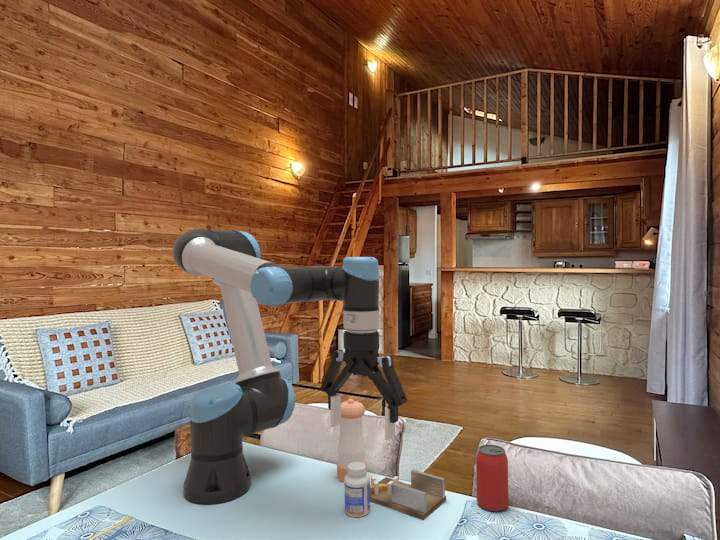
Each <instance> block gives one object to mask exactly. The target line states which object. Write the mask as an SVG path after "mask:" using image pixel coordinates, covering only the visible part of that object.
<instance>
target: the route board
mask: <svg viewBox="0 0 720 540" xmlns="http://www.w3.org/2000/svg"><path fill="white" fill-rule="evenodd" d="M392 479H393V478H389V477H386V476H385V477H383V478H382V479H380V480H379V481H377V482H378V484H387V483H389V482H390V481H392ZM399 484H401V485H404V486H407V487H410V488H411V483H406V482H403V481H400V480H399ZM426 494H427V493H426ZM446 501H447V495H445V497H444V498H440V497H437V496H433V495H430V494H427V512H426V513H425V514H423V513H420V512H417V511H414V510H411V509H408V508H405V507H402V506H400V505H397V504H394V503H392V494H391V495H388V492H387V491H386V490H385V491H379V494H378V495H375V494H374V492H370V503H371V502H372V503H374V504H377V505H379V504H380V506H382V505H383V507H385V506H386V507H385V508H388V507H389V509H391V508H392V509H391V510H394V511H396V510H397V512H400V513H402V514H405V515H409V516H411V517H414V518H417V519H420V520H422V521H424V520H425V519H426V518H427V517H429V516H430V515H431V514H432V513H433V512H434V511H435V510H437V509H438V508H439V507H440V506H441V505H442V504H444V503H445V502H446Z"/></svg>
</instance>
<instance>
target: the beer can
mask: <svg viewBox="0 0 720 540" xmlns="http://www.w3.org/2000/svg"><path fill="white" fill-rule="evenodd" d="M476 454H477V455H476V457H475V466H476V467H475V471H476V472H475V473H476V475H475V476H476V479H475V480H476V502H477V505H478V506H480V507H481V508H482V509H484V510H487V511H488V512H489V511H491V512H501V511H503V510H504V511H505V510H506V509H508V507H509V504H510V503H509V502H510V501H509V461H508V459H509V458H508V456H507V454H506V449H505V448H504V447H502V446H499V445H497V444H482V445H480V446H478V451H477V453H476Z"/></svg>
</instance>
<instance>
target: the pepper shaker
mask: <svg viewBox="0 0 720 540" xmlns="http://www.w3.org/2000/svg"><path fill="white" fill-rule="evenodd" d="M365 412H366V408H365V406H364V404H363V403H361V402H359V401H356V400H354V399H353V398H349V399H347V400H346V401H343V402H341V424H340V425H339V438H338V446H337V447H338V448H337V454H338V456H337V459H338V461H337V463H336V475H337V476H336V478H337V480H338V481H339V482H341V483H344V478H345V476H346V475H347V474H348V472H347V466H348V464H350V463H353V462H361V463H364V464H365V465H366V474H367V475H368V470H367V468H368V467H367V461H366V447H365V446H366V445H365V440H364V434H363V416H364V415H365Z"/></svg>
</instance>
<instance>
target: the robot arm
mask: <svg viewBox="0 0 720 540" xmlns="http://www.w3.org/2000/svg"><path fill="white" fill-rule="evenodd" d="M261 257H262V256H261V249H260V246H259V243H258V241H257V240H256V238H255V237H254V236H253V235H252V234H250V233H249V232H246V231H240V230H237V229H229V230H228V229H225V230H224V229H211V228H210V229H206V228H194V229H190V230H188V231H185V232H184V233H182V234H180V236H178V238H177V239H176V240H175V242H174V244H173V248H172V258H173V261H174V263H175V264H176V266H177V267H178V268H179V269H180V270H182V271H184V272H186V273H187V274H190V275H193V276H197V277H198V276H199V277H200V276H204V275H205V276H207V277H210V278H211V279H212V283H213V284H215V285H216V286H218V287H219V288H220V293H221V296H222V301H223V306H224V311H225V315H226V319H227V324H228V328H229V332H230V338H231V343H232V347H233V353H234V357H235V361H236V366H237V370H238V376H237V378H236V380H235V381H234V383H223V384H216V385H211V386H207V387H206V388H203V389H201V390H200V391H198V392H197V393H195V394H194V395H193V397H192V398H191V400H190V406H189V407H190V408H189V415H188V417H189V422H190V425H189V427H190V430H189V431H190V462H189V465H188V468H187V473H186V476H185V480H184V483H183V496H184V498H185V499H186V500H187V501H189V502H191V503H195V504H198V505H199V504H201V505H212V504H213V505H214V504H220V503H221V504H222V503H225V502H229V501H233V500H235V499H237V498H240V497H241V496H243V495H244V494H246V493H247V492H248V491H249V490H250V488H251V486H252V477H251V476H252V475H251V472H250V469H249V467H248V464H247V461H246V458H245V455H244V452H243V451H244V450H243V448H244V447H243V441H244V440H243V438H245V437H247V436H250V435H253V434H257V433H260V432H263V431H267V430H269V429H273V428H277V427H278V426H280V425H282V424H284V423H287V421H288V420H290V419H291V417H292V415H293V412H294V410H295V406H296V394H295V389H294V386H293V385H292V383H290V380H288V379H286V378H285V377H281V373H280V370H279V369H278V368H277V367H275V366H273V364H272V360H271V355H270V351H269V346H268V343H267V339H266V333H265V331H264V325H263V321H262V317H261V314H260V313H261V312H260V309H259V305H263V306H264V305H265V306H279V305H280V306H281V305H288V304H294V303H295V304H296V303H307V302H317V301H318V302H319V301H340V302H342V307H343V308H342V309H343V313H342V314H343V320H342V321H343V323H342V324H343V329H344V330H345V331H344V332H343V341H342V342H343V349H344V351H343V350H342V349H337V350H334V351H332V353H331V360H330V361H331V362H330V363H329V366H328V368H327V370H326V372H325V375H324V377H323V380H322V383H321V385H320V388H319V390H320V392H323V393H325V394H327V406H328V411H330V428H335V427H337V426H340V424H341V403H342V395H341V393H339V392H340V390H341V388H343V386H344V385H345V383H347V381H348V379H349V378H350V377H351V376H352V375H355V376H358V375H359V376H362V377H368V379H369V380H371V381H372V382H373V384H374V385H375V388H376V389H377V390H378V392H379V393H380V395H381V397H382V398H383V399H384V401H385V402H386V404H387V405H386V406H385V407H384V440H386V441H390V440H391V439H392V438H394V437H395V436H396V423H397V422H398V421H399V407H401V406H403V405H404V404H407V403H408V399H407V398H408V397H407V396H406V393H405V391H404V389H403V386H402V384H401V381H400V379H399V376H398V374H397V371H396V369H395V367H394V358H393V356H392V355H387V356H380V354H379V353H380V352H379V349H380V332H379V331H378V330H379V328H380V303H379V300H380V296H379V294H380V278H381V277H380V270H379V261H378V259H377V258H376V257H374V256H346V257H344V258H343V260H342V265H341V266H339V265H336V266H335V265H334V266H333V265H331V266H330V265H313V266H308V265H307V266H286V265H282V264H279V263H274V262H272V261H268V260H266V259H262V258H261ZM343 361H344V362H345V366H344V367H343V368H342V370H341V371H340V372H341V373H339V370H340V368H341V366H342V363H343ZM379 366H380V367H381V368H382V370H381V368H380V367H379ZM382 371H383V372H382ZM338 373H339V375H338ZM383 374H384V375H383ZM337 375H338V376H337ZM336 377H337V378H336Z"/></svg>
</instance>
